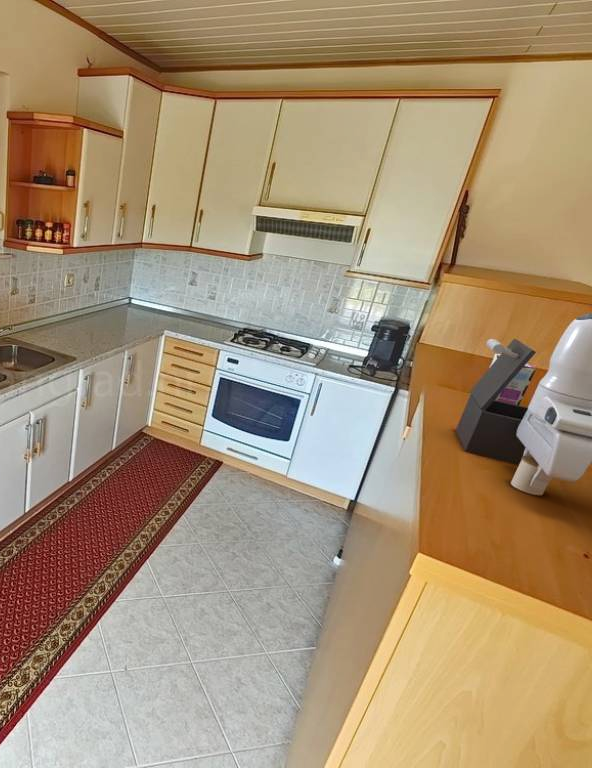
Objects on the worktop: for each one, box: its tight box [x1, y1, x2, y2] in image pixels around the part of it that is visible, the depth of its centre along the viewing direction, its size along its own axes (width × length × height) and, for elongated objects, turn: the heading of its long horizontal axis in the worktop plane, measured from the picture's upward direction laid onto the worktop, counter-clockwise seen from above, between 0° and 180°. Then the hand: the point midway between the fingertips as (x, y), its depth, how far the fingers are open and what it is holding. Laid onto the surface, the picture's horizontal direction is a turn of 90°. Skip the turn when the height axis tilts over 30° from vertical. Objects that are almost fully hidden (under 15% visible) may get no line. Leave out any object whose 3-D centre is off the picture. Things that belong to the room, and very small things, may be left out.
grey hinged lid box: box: [455, 394, 528, 466], centre depth 100 cm, size 13×13×9 cm
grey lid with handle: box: [469, 338, 537, 410], centre depth 99 cm, size 13×13×5 cm
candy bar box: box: [488, 353, 537, 405], centre depth 112 cm, size 11×5×16 cm, turn 154°
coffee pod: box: [510, 456, 550, 496], centre depth 85 cm, size 5×5×5 cm
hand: (530, 480), depth 86 cm, fingers closed on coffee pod, 4 cm apart
